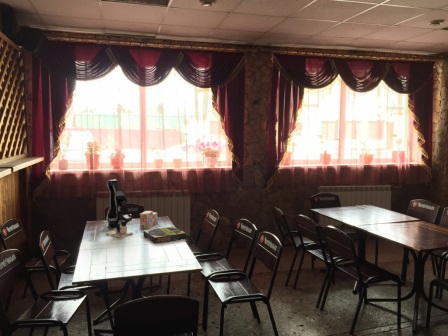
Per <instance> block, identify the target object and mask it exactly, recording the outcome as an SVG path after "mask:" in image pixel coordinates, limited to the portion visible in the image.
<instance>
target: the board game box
mask: <svg viewBox="0 0 448 336" xmlns="http://www.w3.org/2000/svg"><path fill="white" fill-rule="evenodd" d="M142 230H143V235H142V236H143V238H145V239H147V240H149V242H152V243H153V244H155V245H156V244H157V245H158V244H163V243H164V244H165V243H169V242H176V240H177V241H182V240H181V239H183V240H186V239H187V232H184V230H181V229H179V228H177V227H175V226H173V225H172V226H167V227H159V228H152V229H142Z"/></svg>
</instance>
